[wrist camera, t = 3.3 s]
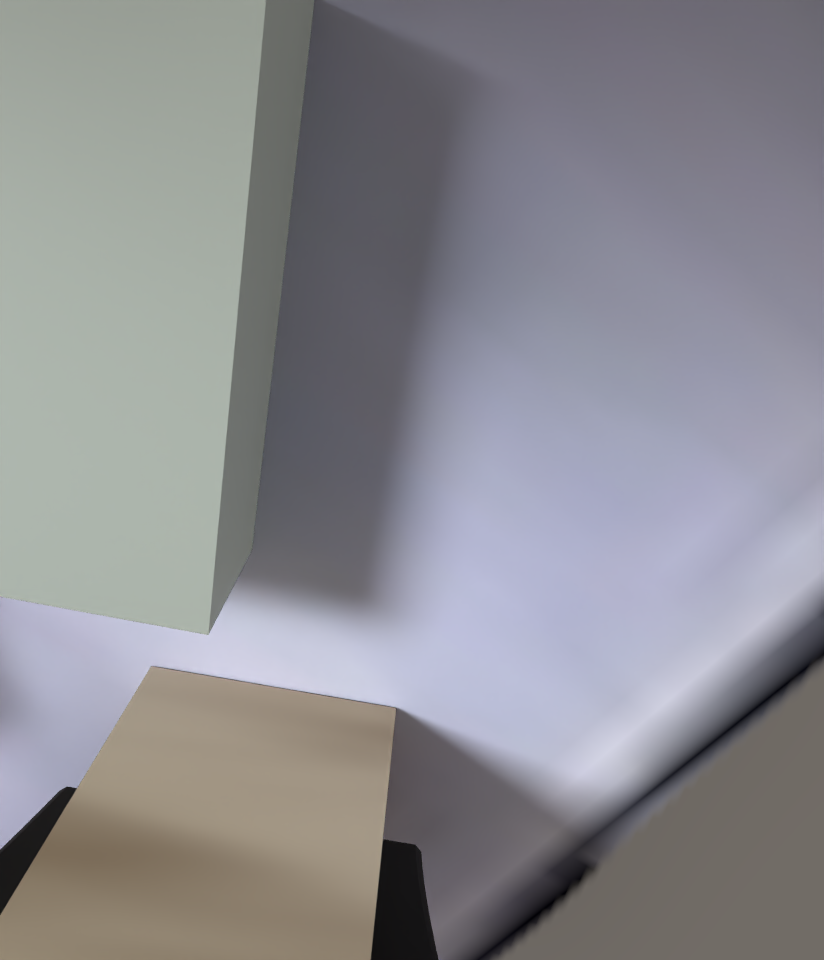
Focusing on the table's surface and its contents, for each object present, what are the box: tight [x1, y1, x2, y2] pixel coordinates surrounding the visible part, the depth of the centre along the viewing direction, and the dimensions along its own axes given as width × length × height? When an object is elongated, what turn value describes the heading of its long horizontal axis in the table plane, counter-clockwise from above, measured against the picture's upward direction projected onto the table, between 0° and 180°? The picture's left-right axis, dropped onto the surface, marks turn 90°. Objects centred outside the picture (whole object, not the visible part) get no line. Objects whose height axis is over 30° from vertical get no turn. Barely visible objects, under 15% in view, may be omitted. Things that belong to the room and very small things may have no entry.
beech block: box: [0, 666, 396, 960], centre depth 10 cm, size 4×4×6 cm
